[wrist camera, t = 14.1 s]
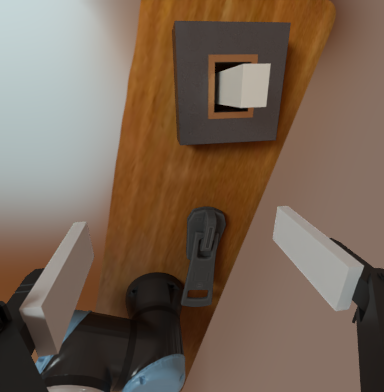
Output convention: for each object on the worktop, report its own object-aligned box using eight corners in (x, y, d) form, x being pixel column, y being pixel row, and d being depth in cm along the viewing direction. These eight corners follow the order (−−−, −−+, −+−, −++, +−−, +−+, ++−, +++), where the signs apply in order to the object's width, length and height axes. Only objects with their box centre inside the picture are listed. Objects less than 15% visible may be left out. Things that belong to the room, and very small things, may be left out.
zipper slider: (178, 307, 56) (193, 219, 47) (176, 287, 62) (189, 205, 53) (213, 307, 58) (235, 221, 48) (207, 287, 64) (226, 207, 54)
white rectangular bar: (230, 102, 45) (266, 106, 30) (212, 103, 44) (240, 107, 30) (231, 73, 43) (270, 63, 28) (213, 74, 42) (243, 63, 28)
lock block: (262, 134, 48) (276, 140, 43) (177, 139, 46) (180, 145, 40) (272, 32, 41) (291, 22, 35) (172, 31, 39) (175, 20, 33)
